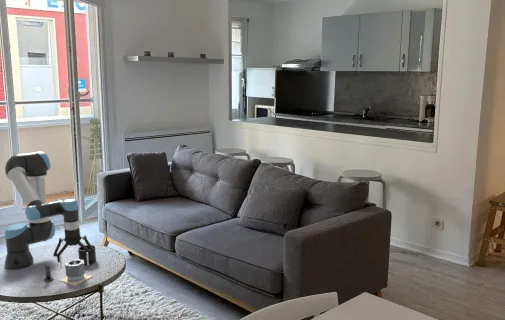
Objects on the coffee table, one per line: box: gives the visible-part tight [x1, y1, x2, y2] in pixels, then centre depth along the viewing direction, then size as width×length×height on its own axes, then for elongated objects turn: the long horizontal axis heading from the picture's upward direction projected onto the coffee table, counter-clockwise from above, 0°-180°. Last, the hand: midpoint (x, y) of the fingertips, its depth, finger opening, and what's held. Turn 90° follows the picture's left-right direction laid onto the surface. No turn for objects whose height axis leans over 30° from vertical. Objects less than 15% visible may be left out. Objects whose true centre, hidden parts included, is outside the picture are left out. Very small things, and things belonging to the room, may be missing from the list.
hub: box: [58, 262, 93, 286], centre depth 260 cm, size 12×12×9 cm
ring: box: [64, 258, 86, 277], centre depth 260 cm, size 9×9×6 cm
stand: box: [43, 264, 54, 283], centre depth 259 cm, size 5×5×8 cm
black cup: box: [77, 244, 97, 266], centre depth 282 cm, size 9×12×9 cm
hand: (74, 266), depth 260 cm, fingers open, 13 cm apart
